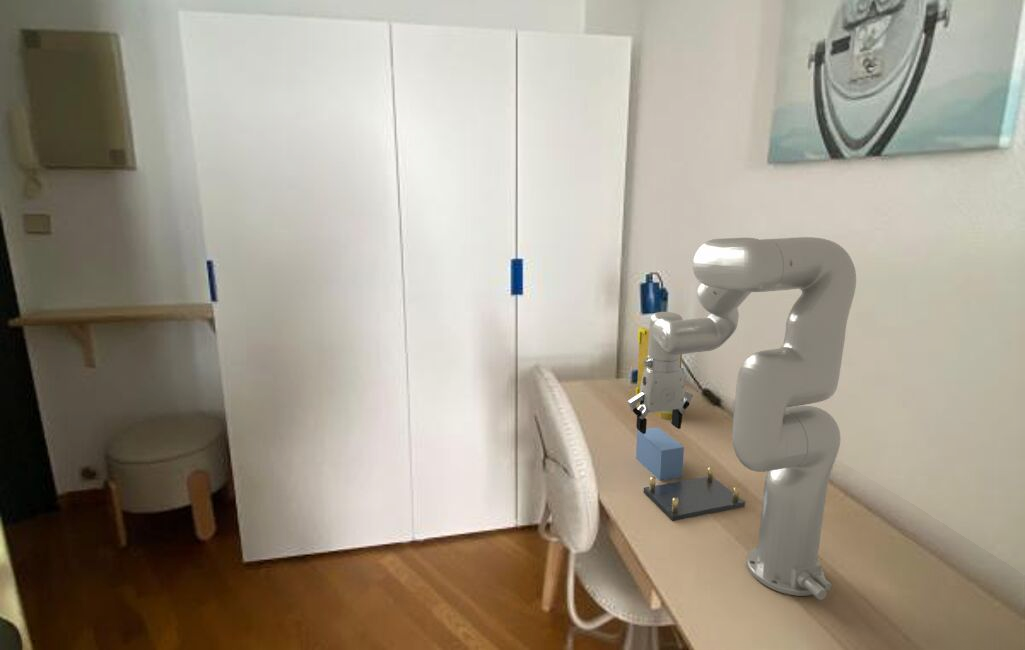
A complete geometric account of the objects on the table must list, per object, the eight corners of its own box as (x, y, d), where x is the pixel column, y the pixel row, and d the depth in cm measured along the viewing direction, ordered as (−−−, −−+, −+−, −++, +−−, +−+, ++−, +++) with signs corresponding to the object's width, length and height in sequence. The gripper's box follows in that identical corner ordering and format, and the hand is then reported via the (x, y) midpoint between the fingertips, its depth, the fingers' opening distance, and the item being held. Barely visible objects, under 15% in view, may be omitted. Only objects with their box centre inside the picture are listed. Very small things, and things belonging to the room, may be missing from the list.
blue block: (682, 477, 133) (684, 447, 131) (659, 481, 131) (661, 450, 129) (656, 455, 144) (658, 427, 142) (635, 458, 143) (637, 430, 141)
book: (635, 401, 181) (638, 328, 175) (653, 398, 183) (656, 326, 177) (663, 420, 166) (668, 341, 160) (682, 417, 167) (688, 338, 162)
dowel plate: (744, 506, 120) (746, 489, 119) (672, 521, 115) (673, 503, 114) (710, 480, 131) (712, 464, 130) (643, 492, 126) (644, 475, 125)
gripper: (638, 372, 126) (634, 440, 130) (704, 365, 130) (698, 431, 135) (623, 362, 133) (620, 427, 137) (685, 355, 137) (680, 418, 142)
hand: (658, 429), depth 136 cm, fingers open, 9 cm apart
